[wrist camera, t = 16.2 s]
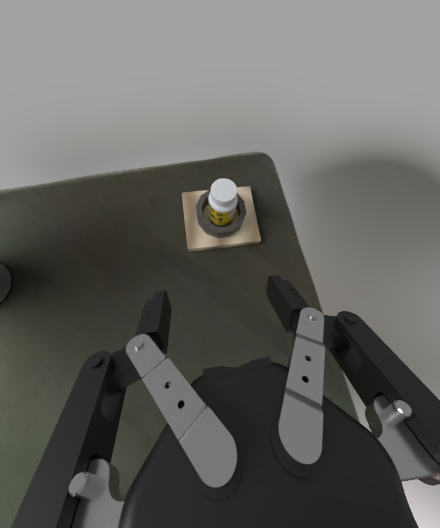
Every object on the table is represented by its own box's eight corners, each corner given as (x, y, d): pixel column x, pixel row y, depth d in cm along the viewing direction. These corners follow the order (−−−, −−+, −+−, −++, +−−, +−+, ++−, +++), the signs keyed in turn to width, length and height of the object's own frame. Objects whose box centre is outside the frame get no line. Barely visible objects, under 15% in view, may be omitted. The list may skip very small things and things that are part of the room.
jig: (188, 251, 34) (185, 244, 30) (183, 197, 36) (179, 184, 32) (258, 243, 35) (264, 235, 31) (248, 190, 37) (252, 177, 34)
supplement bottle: (203, 217, 34) (201, 189, 26) (220, 201, 35) (222, 169, 27) (222, 233, 33) (225, 209, 25) (238, 216, 34) (246, 189, 26)
